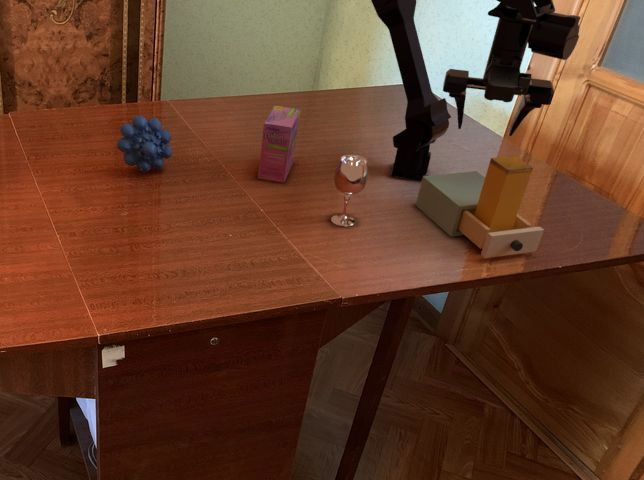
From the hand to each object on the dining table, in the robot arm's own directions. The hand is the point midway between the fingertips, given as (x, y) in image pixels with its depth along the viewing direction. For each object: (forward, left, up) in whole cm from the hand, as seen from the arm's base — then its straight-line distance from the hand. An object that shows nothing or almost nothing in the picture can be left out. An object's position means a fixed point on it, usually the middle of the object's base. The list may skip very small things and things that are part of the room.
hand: (484, 131), depth 143 cm
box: (-38, -3, -13) cm, 41 cm away
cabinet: (-1, -11, -13) cm, 17 cm away
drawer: (+5, -20, -12) cm, 23 cm away
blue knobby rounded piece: (-63, -14, -13) cm, 66 cm away
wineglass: (-22, -20, -13) cm, 32 cm away
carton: (+4, -19, -11) cm, 22 cm away
